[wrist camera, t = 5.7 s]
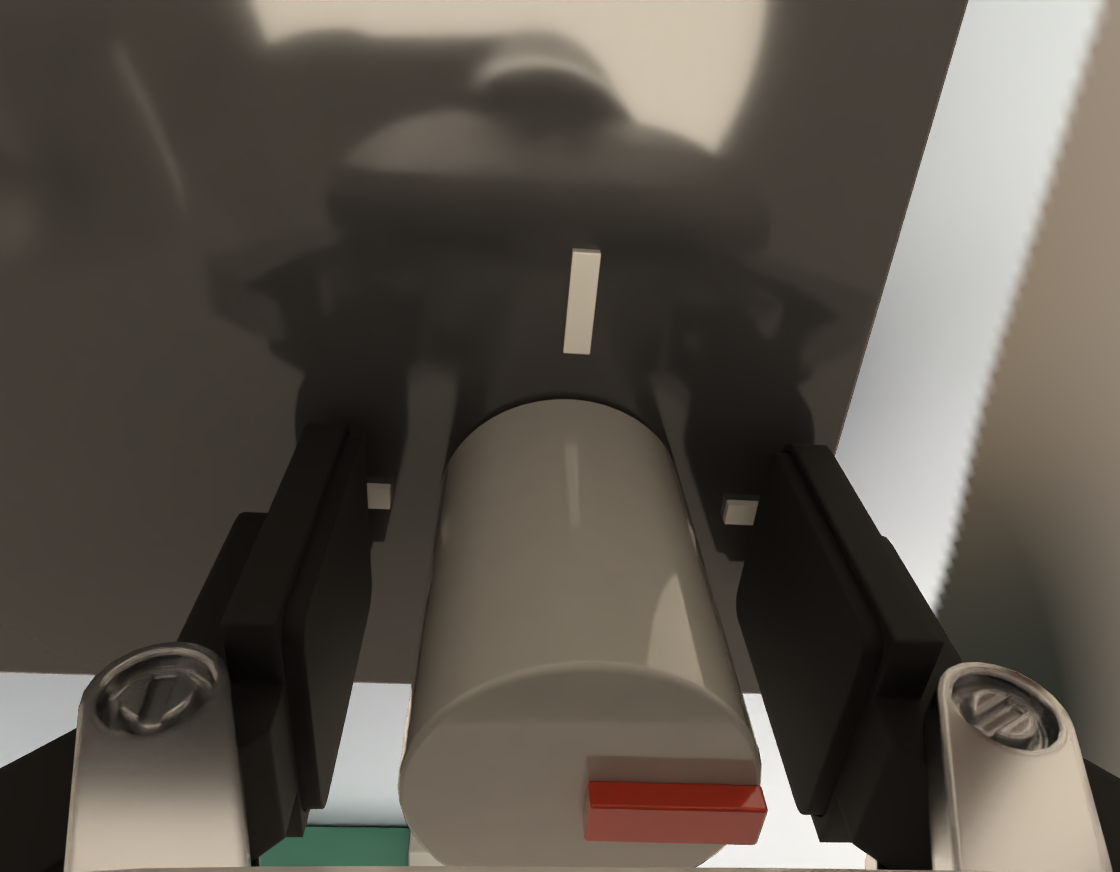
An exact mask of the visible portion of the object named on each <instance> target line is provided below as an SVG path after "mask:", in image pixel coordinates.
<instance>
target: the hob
mask: <svg viewBox="0 0 1120 872" xmlns="http://www.w3.org/2000/svg"><path fill="white" fill-rule="evenodd" d="M967 3H968V0H0V673H35V674H71V675H97V674H98V673H99V672H100V671H102V670H103V669H104V668H105V667H106V666H108V665H109V664H110V663H111V662H113V661H114V660H116V659H118V658H120V657H122V656H124V655H126V654H128V653H130V652H132V651H134V650H137V649H140V648H143V647H147V646H150V645H153V644H158V643H168V642H176V641H177V639H178V637H179V635H180V633H181V631H182V629H183V627H184V625H185V623H186V620H187V618H188V616H189V614H190V612H191V610H192V608H193V606H194V604H195V602H196V600H197V598H198V596H199V594H200V591H201V589H202V587H203V585H204V583H205V581H206V579H207V577H208V575H209V573H210V571H211V569H212V567H213V565H214V562H215V560H216V558H217V556H218V554H219V552H220V550H221V548H222V546H223V544H224V542H225V540H226V538H227V536H228V533H229V531H230V529H231V527H232V525H233V523H234V521H235V520H236V518H237V517H238V515H239V514H240V513H242V512H261V513H268V511H269V509H270V506H271V504H272V502H273V500H274V497H275V495H276V493H277V490H278V488H279V486H280V483H281V481H282V479H283V476H284V474H285V472H286V469H287V467H288V465H289V463H290V460H291V458H292V456H293V453H294V451H295V449H296V446H297V444H298V442H299V439H300V437H301V435H302V433H303V430H304V428H305V426H306V424H307V423H309V422H310V423H332V424H348V425H349V426H350V431H351V435H363V436H364V440H365V455H366V475H367V495H368V515H369V535H370V555H371V575H372V594H371V604H370V610H369V614H368V619H367V623H366V628H365V632H364V637H363V641H362V646H361V650H360V655H359V659H358V664H357V668H356V673H355V677H354V682H353V683H388V684H412V677H413V670H414V663H415V656H416V650H417V643H418V636H419V629H420V622H421V615H422V608H423V601H424V594H425V587H426V580H427V573H428V566H429V559H430V552H431V545H432V538H433V531H434V524H435V517H436V510H437V503H438V496H439V489H440V484H441V481H442V477H443V473H444V471H445V469H446V467H447V464H448V462H449V460H450V459H451V457H452V455H453V454H454V452H455V451H456V449H457V448H458V447H459V446H460V444H461V443H462V442H463V441H464V440H465V439H466V438H467V437H468V436H469V435H470V434H471V433H472V432H473V431H474V430H476V429H477V428H478V427H479V426H481V425H482V424H484V423H485V422H487V421H488V420H490V419H491V418H493V417H495V416H497V415H499V414H501V413H503V412H505V411H507V410H509V409H512V408H515V407H517V406H520V405H523V404H528V403H532V402H536V401H542V400H552V399H576V400H584V401H591V402H595V403H599V404H603V405H606V406H609V407H612V408H614V409H617V410H619V411H621V412H623V413H625V414H627V415H629V416H631V417H633V418H635V419H636V420H638V421H639V422H640V423H642V424H643V425H645V426H646V427H647V428H648V429H650V430H651V431H652V432H653V433H654V434H655V435H656V436H657V437H658V438H659V439H660V441H661V442H662V443H663V444H664V446H665V447H666V448H667V450H668V452H669V453H670V455H671V457H672V459H673V460H674V463H675V465H676V468H677V471H678V473H679V477H680V480H681V484H682V487H683V491H684V494H685V497H686V501H687V504H688V508H689V511H690V515H691V518H692V522H693V525H694V528H695V532H696V535H697V539H698V542H699V546H700V549H701V552H702V556H703V559H704V563H705V566H706V570H707V573H708V577H709V580H710V583H711V587H712V590H713V594H714V597H715V601H716V604H717V607H718V611H719V614H720V618H721V621H722V625H723V628H724V632H725V635H726V638H727V642H728V645H729V649H730V652H731V656H732V659H733V662H734V666H735V669H736V673H737V676H738V680H739V683H740V686H741V690H742V693H743V694H761V692H760V689H759V685H758V682H757V679H756V676H755V673H754V670H753V666H752V663H751V660H750V657H749V654H748V650H747V647H746V644H745V641H744V638H743V634H742V631H741V628H740V625H739V622H738V618H737V612H736V596H737V591H738V586H739V582H740V578H741V574H742V569H743V565H744V561H745V557H746V553H747V548H748V544H749V540H750V536H751V531H752V527H753V523H754V519H755V514H756V510H757V506H758V502H759V497H760V493H761V489H762V485H763V480H764V476H765V472H766V468H767V464H768V460H769V457H770V456H771V454H772V453H781V452H782V449H783V448H784V446H785V445H786V444H811V445H826V446H828V448H829V449H830V450H831V452H832V453H833V455H834V456H835V453H836V450H837V446H838V443H839V439H840V436H841V433H842V429H843V426H844V422H845V419H846V416H847V412H848V409H849V405H850V402H851V399H852V395H853V392H854V388H855V385H856V381H857V378H858V375H859V371H860V368H861V364H862V361H863V358H864V354H865V351H866V347H867V344H868V341H869V337H870V334H871V330H872V327H873V324H874V320H875V317H876V313H877V310H878V306H879V303H880V300H881V296H882V293H883V289H884V286H885V283H886V279H887V276H888V272H889V269H890V266H891V262H892V259H893V255H894V252H895V249H896V245H897V242H898V238H899V235H900V231H901V228H902V225H903V221H904V218H905V214H906V211H907V208H908V204H909V201H910V197H911V194H912V191H913V187H914V184H915V180H916V177H917V173H918V170H919V167H920V163H921V160H922V156H923V153H924V150H925V146H926V143H927V139H928V136H929V133H930V129H931V126H932V122H933V119H934V116H935V112H936V109H937V105H938V102H939V98H940V95H941V92H942V88H943V85H944V81H945V78H946V75H947V71H948V68H949V64H950V61H951V58H952V54H953V51H954V47H955V44H956V41H957V37H958V34H959V30H960V27H961V23H962V20H963V17H964V13H965V10H966V6H967Z"/></svg>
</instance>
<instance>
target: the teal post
mask: <svg viewBox="0 0 1120 872" xmlns="http://www.w3.org/2000/svg"><path fill="white" fill-rule="evenodd" d="M261 864H262V866H444V865H443V864H441V863H440V862H439V861H437V860H436V859H435V858H434V857H433V856H431V855H430V854H429V853H428V852H427V851H426V850H425V849H424V848H423V847H422V846H421V844H420V843H419V842H418V841H417V839H416V838H415V837H414V835H413V834H412V832H411V830H410V828H372V827H307V826H306V827H305V831H304V835H303V837H285V839H283V840H282V841H280V842H279V843H278V844H276V845H275V846H274V847H272V848H271V849H269V850H268V851H267V852H265V853H264V854H262V855H261Z"/></svg>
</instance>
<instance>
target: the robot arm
mask: <svg viewBox="0 0 1120 872" xmlns="http://www.w3.org/2000/svg"><path fill="white" fill-rule="evenodd" d="M371 594H372V575H371V555H370V535H369V515H368V495H367V475H366V455H365V440H364V436H363V435H351V431H350V426H349V425H348V424H332V423H310V422H309V423H307V424H306V426H305V428H304V430H303V433H302V435H301V437H300V439H299V442H298V444H297V446H296V449H295V451H294V453H293V456H292V458H291V460H290V463H289V465H288V467H287V469H286V472H285V474H284V476H283V479H282V481H281V483H280V486H279V488H278V490H277V493H276V495H275V497H274V500H273V502H272V504H271V506H270V509H269V511H268V513H261V512H242V513H240V514H239V515H238V517H237V518H236V520H235V521H234V523H233V525H232V527H231V529H230V531H229V533H228V536H227V538H226V540H225V542H224V544H223V546H222V548H221V550H220V552H219V554H218V556H217V558H216V560H215V562H214V565H213V567H212V569H211V571H210V573H209V575H208V577H207V579H206V581H205V583H204V585H203V587H202V589H201V591H200V594H199V596H198V598H197V600H196V602H195V604H194V606H193V608H192V610H191V612H190V614H189V616H188V618H187V620H186V623H185V625H184V627H183V629H182V631H181V633H180V635H179V637H178V639H177V641H176V642H168V643H158V644H153V645H150V646H147V647H143V648H140V649H137V650H134V651H132V652H130V653H128V654H126V655H124V656H122V657H120V658H118V659H116V660H114V661H113V662H111V663H110V664H109V665H108V666H106V667H105V668H104V669H103V670H102V671H100V672H99V673H98V674H97V675H96V676H95V677H94V678H93V680H92V681H91V682H90V684H89V685H88V686H87V688H86V689H85V690H84V692H83V696H82V699H81V702H80V705H79V709H78V720H77V728H76V729H74V730H72V731H70V732H68V733H66V734H64V735H63V736H61V737H59V738H57V739H55V740H53V741H51V742H49V743H47V744H46V745H44V746H42V747H40V748H38V749H36V750H34V751H32V752H31V753H29V754H27V755H25V756H23V757H21V758H19V759H17V760H15V761H14V762H12V763H10V764H8V765H6V766H4V767H2V768H0V872H1120V778H1118V777H1116V776H1114V775H1112V774H1111V773H1109V772H1107V771H1105V770H1104V769H1102V768H1100V767H1098V766H1097V765H1095V764H1093V763H1091V762H1089V761H1088V760H1086V759H1084V758H1082V755H1081V751H1080V747H1079V744H1078V740H1077V736H1076V732H1075V729H1074V726H1073V724H1072V722H1071V720H1070V718H1069V715H1068V713H1067V712H1066V711H1065V709H1064V708H1063V707H1062V706H1061V704H1060V703H1059V702H1058V701H1057V700H1056V699H1055V697H1054V696H1052V695H1051V694H1050V693H1049V692H1047V691H1046V690H1045V689H1044V688H1042V687H1041V686H1040V685H1039V684H1037V683H1036V682H1034V681H1032V680H1030V679H1029V678H1027V677H1025V676H1023V675H1021V674H1020V673H1018V672H1015V671H1013V670H1010V669H1007V668H1004V667H1001V666H998V665H994V664H987V663H982V662H969V663H963V662H962V660H961V658H960V657H959V655H958V653H957V652H956V650H955V649H954V647H953V645H952V643H951V642H950V640H949V638H948V637H947V635H946V633H945V632H944V630H943V628H942V627H941V625H940V623H939V622H938V620H937V618H936V617H935V615H934V613H933V612H932V610H931V608H930V607H929V605H928V603H927V602H926V600H925V598H924V597H923V595H922V593H921V592H920V590H919V588H918V587H917V585H916V583H915V582H914V580H913V578H912V577H911V575H910V573H909V572H908V570H907V569H906V567H905V565H904V564H903V562H902V560H901V559H900V557H899V555H898V554H897V552H896V550H895V549H894V547H893V545H892V544H891V543H890V541H889V540H888V539H887V538H886V537H884V536H881V534H880V533H879V531H878V529H877V528H876V526H875V524H874V523H873V521H872V519H871V518H870V516H869V514H868V512H867V511H866V509H865V507H864V506H863V504H862V502H861V501H860V499H859V497H858V496H857V494H856V492H855V491H854V489H853V487H852V486H851V484H850V482H849V480H848V479H847V477H846V475H845V474H844V472H843V470H842V469H841V467H840V465H839V464H838V462H837V460H836V459H835V457H834V455H833V453H832V452H831V450H830V449H829V448H828V446H826V445H811V444H786V445H785V446H784V448H783V449H782V452H781V453H772V454H771V456H770V457H769V460H768V464H767V468H766V472H765V476H764V480H763V485H762V489H761V493H760V497H759V502H758V506H757V510H756V514H755V519H754V523H753V527H752V531H751V536H750V540H749V544H748V548H747V553H746V557H745V561H744V565H743V569H742V574H741V578H740V582H739V586H738V591H737V596H736V612H737V618H738V622H739V625H740V628H741V631H742V634H743V638H744V641H745V644H746V647H747V650H748V654H749V657H750V660H751V663H752V666H753V670H754V673H755V676H756V679H757V682H758V685H759V689H760V692H761V695H762V698H763V701H764V705H765V708H766V711H767V714H768V717H769V721H770V724H771V727H772V730H773V733H774V736H775V740H776V743H777V746H778V749H779V752H780V756H781V759H782V762H783V765H784V768H785V772H786V775H787V778H788V781H789V784H790V787H791V791H792V794H793V797H794V800H795V803H796V806H797V808H798V810H799V812H800V813H801V814H803V815H811V817H812V820H813V823H814V826H815V829H816V832H817V835H818V838H819V841H820V842H850V843H853V844H854V845H855V846H857V847H858V848H860V849H861V850H862V851H864V852H865V853H867V854H866V859H865V869H787V868H673V867H521V866H262V864H261V855H262V854H264V853H265V852H267V851H268V850H269V849H271V848H272V847H274V846H275V845H276V844H278V843H279V842H280V841H282V840H283V839H285V837H303V835H304V831H305V827H306V823H307V819H308V814H309V810H310V809H323V808H325V805H326V802H327V798H328V794H329V790H330V785H331V781H332V776H333V772H334V767H335V763H336V758H337V754H338V749H339V745H340V740H341V736H342V731H343V727H344V722H345V718H346V713H347V709H348V704H349V700H350V695H351V691H352V686H353V682H354V677H355V673H356V668H357V664H358V659H359V655H360V650H361V646H362V641H363V637H364V632H365V628H366V623H367V619H368V614H369V610H370V604H371Z"/></svg>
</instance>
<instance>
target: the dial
mask: <svg viewBox="0 0 1120 872" xmlns="http://www.w3.org/2000/svg"><path fill="white" fill-rule="evenodd" d="M760 783H761V759H760V753H759V748H758V745H757V741H756V738H755V735H754V731H753V728H752V724H751V721H750V717H749V714H748V711H747V707H746V704H745V700H744V697H743V693H742V690H741V686H740V683H739V680H738V676H737V673H736V669H735V666H734V662H733V659H732V656H731V652H730V649H729V645H728V642H727V638H726V635H725V632H724V628H723V625H722V621H721V618H720V614H719V611H718V607H717V604H716V601H715V597H714V594H713V590H712V587H711V583H710V580H709V577H708V573H707V570H706V566H705V563H704V559H703V556H702V552H701V549H700V546H699V542H698V539H697V535H696V532H695V528H694V525H693V522H692V518H691V515H690V511H689V508H688V504H687V501H686V497H685V494H684V491H683V487H682V484H681V480H680V477H679V473H678V471H677V468H676V465H675V463H674V460H673V459H672V457H671V455H670V453H669V452H668V450H667V448H666V447H665V446H664V444H663V443H662V442H661V441H660V439H659V438H658V437H657V436H656V435H655V434H654V433H653V432H652V431H651V430H650V429H648V428H647V427H646V426H645V425H643V424H642V423H640V422H639V421H638V420H636V419H635V418H633V417H631V416H629V415H627V414H625V413H623V412H621V411H619V410H617V409H614V408H612V407H609V406H606V405H603V404H599V403H595V402H591V401H584V400H576V399H552V400H542V401H536V402H532V403H528V404H523V405H520V406H517V407H515V408H512V409H509V410H507V411H505V412H503V413H501V414H499V415H497V416H495V417H493V418H491V419H490V420H488V421H487V422H485V423H484V424H482V425H481V426H479V427H478V428H477V429H476V430H474V431H473V432H472V433H471V434H470V435H469V436H468V437H467V438H466V439H465V440H464V441H463V442H462V443H461V444H460V446H459V447H458V448H457V449H456V451H455V452H454V454H453V455H452V457H451V459H450V460H449V462H448V464H447V467H446V469H445V471H444V473H443V477H442V481H441V484H440V489H439V496H438V503H437V510H436V517H435V524H434V531H433V538H432V545H431V552H430V559H429V566H428V573H427V580H426V587H425V594H424V601H423V608H422V615H421V622H420V629H419V636H418V643H417V650H416V656H415V663H414V670H413V677H412V684H411V691H410V698H409V705H408V712H407V719H406V726H405V733H404V740H403V747H402V754H401V761H400V768H399V777H398V794H399V802H400V805H401V809H402V812H403V815H404V818H405V821H406V823H407V825H408V826H409V828H410V830H411V832H412V834H413V835H414V837H415V838H416V839H417V841H418V842H419V843H420V844H421V846H422V847H423V848H424V849H425V850H426V851H427V852H428V853H429V854H430V855H431V856H433V857H434V858H435V859H436V860H437V861H439V862H440V863H441V864H443V865H444V866H521V867H673V868H695V867H697V866H699V865H701V864H702V863H704V862H705V861H707V860H708V859H709V858H711V857H712V856H714V855H715V854H716V853H718V852H719V851H720V850H721V849H722V848H723V847H724V846H726V845H727V844H735V845H755V844H756V843H757V841H758V838H759V835H760V832H761V829H762V826H763V823H764V820H765V817H766V814H767V811H768V809H767V806H766V802H765V799H764V795H763V791H762V788H761V786H760Z"/></svg>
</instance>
